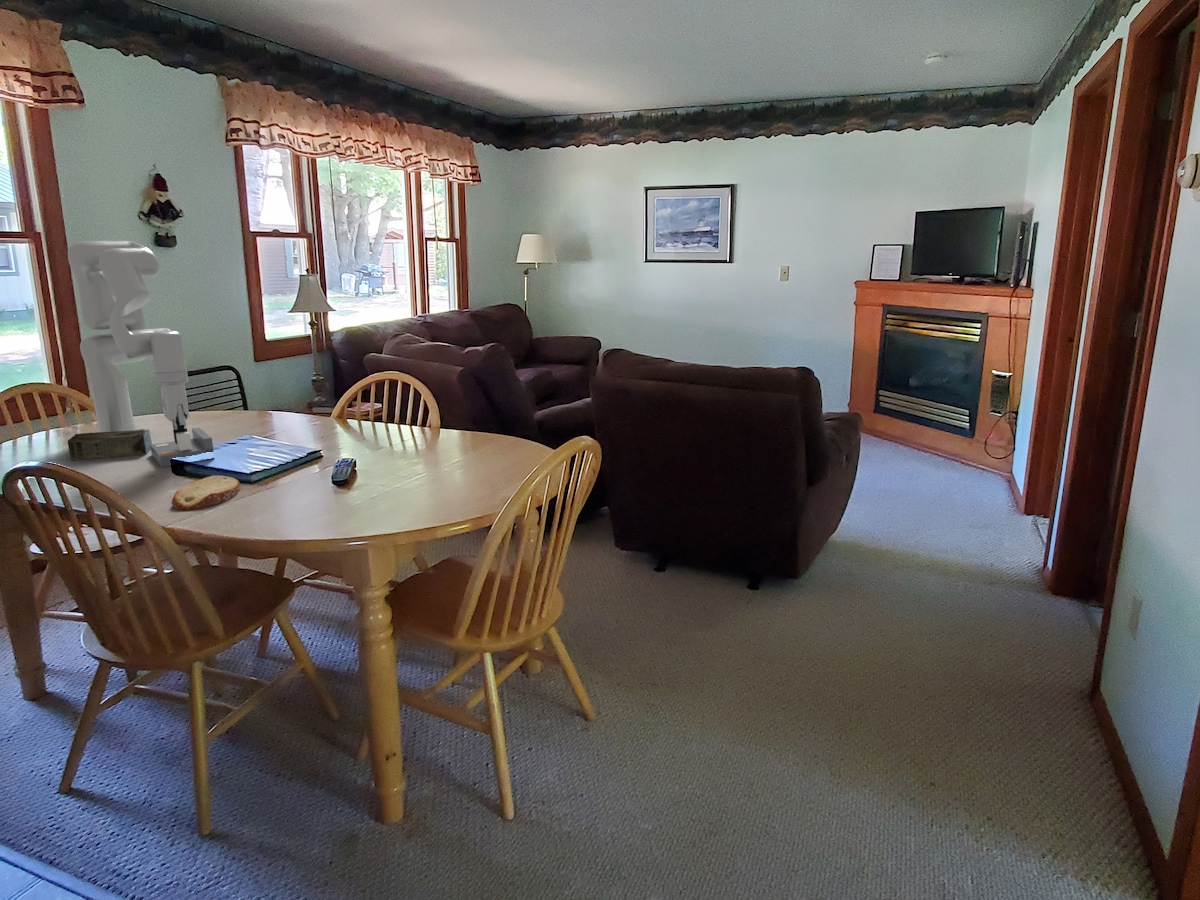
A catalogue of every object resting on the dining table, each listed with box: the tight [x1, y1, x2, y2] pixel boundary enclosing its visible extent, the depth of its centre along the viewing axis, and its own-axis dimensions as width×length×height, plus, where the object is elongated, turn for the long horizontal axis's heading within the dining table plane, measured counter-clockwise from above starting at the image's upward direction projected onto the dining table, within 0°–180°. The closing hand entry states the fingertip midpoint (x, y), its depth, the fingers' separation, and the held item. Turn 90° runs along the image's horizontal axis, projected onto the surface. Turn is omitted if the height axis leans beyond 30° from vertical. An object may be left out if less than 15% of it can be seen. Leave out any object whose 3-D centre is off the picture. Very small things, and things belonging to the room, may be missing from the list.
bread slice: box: [171, 475, 241, 512], centre depth 186 cm, size 18×18×4 cm
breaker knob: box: [176, 431, 192, 451], centre depth 214 cm, size 2×3×4 cm
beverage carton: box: [67, 428, 153, 461], centre depth 222 cm, size 8×19×7 cm, turn 108°
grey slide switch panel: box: [150, 427, 214, 468], centre depth 219 cm, size 16×13×6 cm
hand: (182, 442), depth 217 cm, fingers closed
